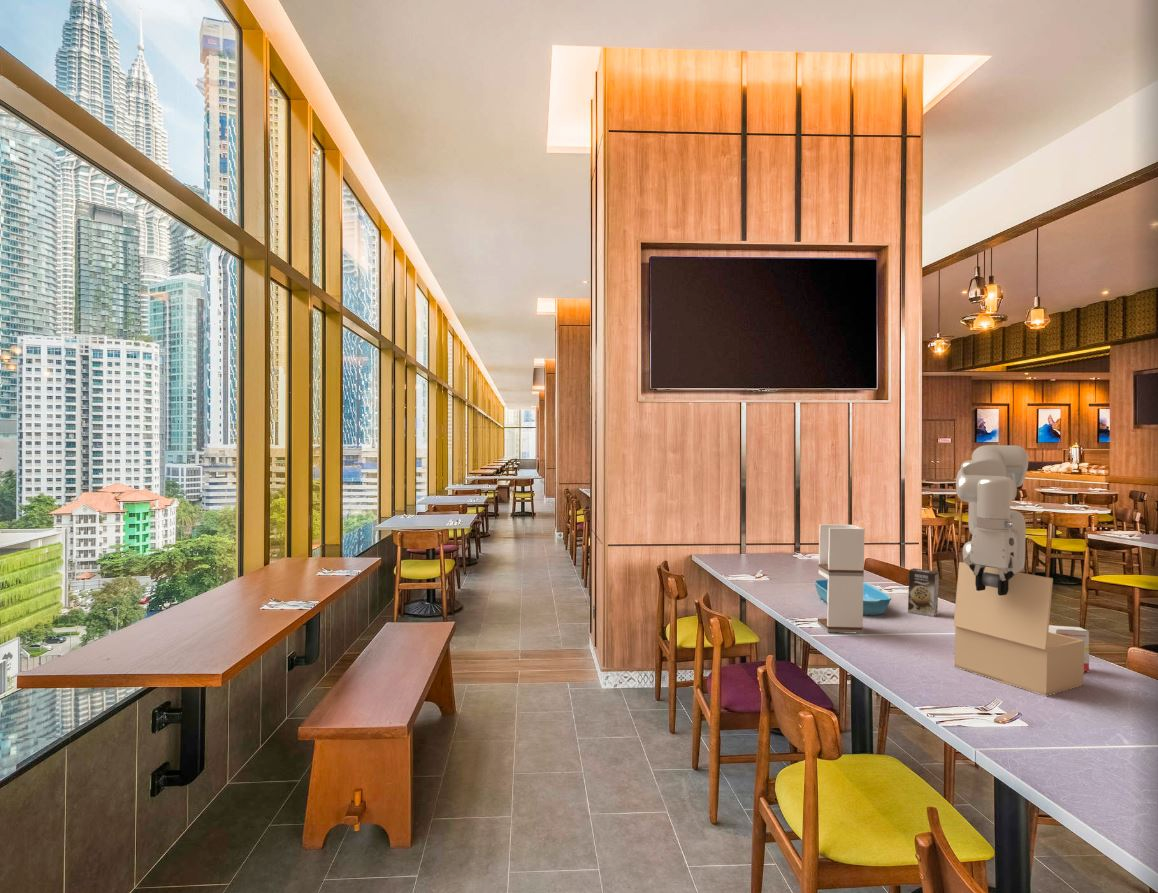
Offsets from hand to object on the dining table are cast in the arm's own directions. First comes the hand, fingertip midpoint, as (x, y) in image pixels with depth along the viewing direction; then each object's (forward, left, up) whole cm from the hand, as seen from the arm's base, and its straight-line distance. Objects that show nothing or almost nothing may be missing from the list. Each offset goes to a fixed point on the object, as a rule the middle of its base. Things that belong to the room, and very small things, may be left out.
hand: (991, 591), depth 178 cm
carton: (-13, 0, -25) cm, 28 cm away
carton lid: (-5, 0, -4) cm, 6 cm away
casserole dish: (-37, -75, -25) cm, 87 cm away
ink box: (-33, +3, -25) cm, 41 cm away
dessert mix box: (-52, -55, -25) cm, 79 cm away
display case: (-6, -54, -25) cm, 60 cm away
